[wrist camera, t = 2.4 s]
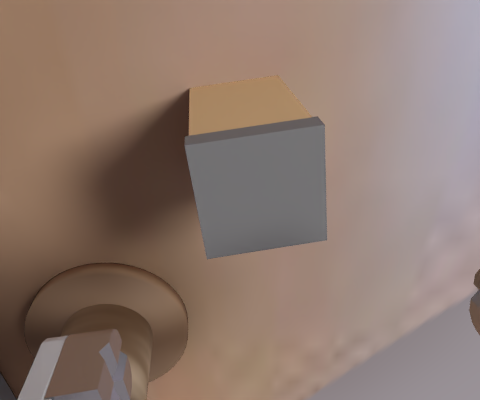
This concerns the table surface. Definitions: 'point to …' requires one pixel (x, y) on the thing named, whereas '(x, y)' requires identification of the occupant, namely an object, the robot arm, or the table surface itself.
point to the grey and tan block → (255, 167)
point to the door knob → (114, 316)
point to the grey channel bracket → (5, 390)
